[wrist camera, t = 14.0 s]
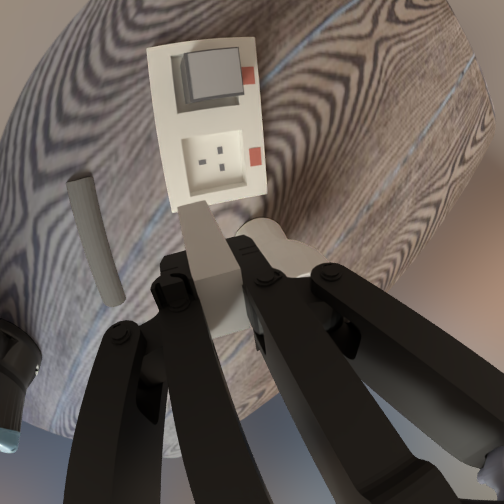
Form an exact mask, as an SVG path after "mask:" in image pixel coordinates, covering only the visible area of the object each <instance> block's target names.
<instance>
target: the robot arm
mask: <svg viewBox="0 0 504 504" xmlns="http://www.w3.org/2000/svg"><path fill="white" fill-rule="evenodd" d="M177 209H178V215H179V220H180V225H181V230H182V235H183V239H184V244H185V249H186V250H185V251H182V252H178V253H174V254H170V255H167V256H164V257H163V259H162V261H161V263H160V272H161V273H160V274H161V276H160V277H158V278H157V279H156V280H155V281H154V282H153V283H152V285H151V289H150V290H151V292H152V295H153V297H154V299H155V302H156V304H157V306H158V309H159V312H158V314H157V315H156V316H155V317H154V318H152V319H151V320H149V321H147V322H146V323H144V324H142V325H140V326H138V324H137V323H135V322H133V321H129V320H125V321H120V322H117V323H115V324H114V325H112V326H111V327H110V328H109V329H108V330H107V331H106V332H105V334H104V336H103V338H102V341H101V344H100V347H99V350H98V352H97V355H96V358H95V361H94V364H93V367H92V371H91V374H90V377H89V380H88V383H87V387H86V390H85V394H84V397H83V401H82V405H81V408H80V412H79V416H78V420H77V424H76V429H75V433H74V438H73V442H72V447H71V453H70V458H69V464H68V469H67V476H66V483H65V491H64V500H63V504H160V491H161V466H162V465H161V464H162V449H163V435H164V423H165V412H166V403H167V393H168V389H169V395H170V401H171V406H172V412H173V417H174V422H175V427H176V432H177V436H178V441H179V445H180V449H181V454H182V458H183V462H184V466H185V469H186V473H187V477H188V480H189V484H190V488H191V491H192V494H193V498H194V501H195V504H273V501H272V499H271V497H270V495H269V492H268V490H267V488H266V486H265V484H264V481H263V479H262V476H261V474H260V471H259V469H258V467H257V464H256V462H255V459H254V457H253V454H252V452H251V449H250V447H249V444H248V442H247V439H246V436H245V434H244V431H243V428H242V426H241V423H240V420H239V418H238V415H237V412H236V409H235V406H234V404H233V401H232V398H231V395H230V392H229V389H228V386H227V383H226V380H225V377H224V374H223V371H222V368H221V365H220V362H219V359H218V355H217V352H216V349H215V346H214V343H213V340H212V339H214V338H218V337H221V336H225V335H228V334H232V333H235V332H238V331H242V330H245V329H248V328H250V323H251V325H252V327H253V331H254V337H255V343H256V349H257V351H258V350H260V351H261V353H262V355H263V358H264V360H265V362H266V364H267V366H268V368H269V370H270V373H271V375H272V377H273V379H274V381H275V383H276V385H277V387H278V390H279V392H280V394H281V396H282V398H283V400H284V402H285V404H286V406H287V408H288V410H289V412H290V414H291V416H292V418H293V420H294V422H295V424H296V426H297V428H298V430H299V432H300V434H301V436H302V438H303V440H304V442H305V444H306V446H307V448H308V450H309V452H310V454H311V456H312V458H313V460H314V462H315V464H316V466H317V468H318V469H319V471H320V473H321V475H322V477H323V479H324V481H325V483H326V485H327V487H328V488H329V490H330V492H331V494H332V496H333V498H334V500H335V502H336V504H504V373H502V372H501V371H499V370H498V369H497V368H495V367H494V366H493V365H491V364H490V363H489V362H487V361H486V360H484V359H483V358H482V357H480V356H479V355H478V354H476V353H475V352H473V351H472V350H471V349H469V348H468V347H466V346H465V345H463V344H462V343H461V342H459V341H458V340H456V339H455V338H454V337H452V336H451V335H449V334H448V333H446V332H445V331H443V330H442V329H441V328H439V327H438V326H436V325H435V324H433V323H432V322H430V321H429V320H427V319H425V318H424V317H423V316H421V315H420V314H418V313H417V312H415V311H414V310H412V309H411V308H409V307H407V306H406V305H405V304H403V303H402V302H400V301H398V300H397V299H395V298H394V297H392V296H391V295H389V294H388V293H386V292H384V291H383V290H381V289H380V288H378V287H377V286H375V285H373V284H372V283H370V282H369V281H367V280H366V279H364V278H362V277H361V276H359V275H358V274H356V273H354V272H353V271H351V270H349V269H348V268H346V267H345V266H342V265H340V264H338V263H331V262H330V263H322V264H319V265H317V266H315V267H314V268H313V269H312V271H311V273H310V277H299V278H291V277H287V276H286V275H285V274H284V273H283V272H282V271H281V270H278V269H275V268H272V267H271V265H270V264H269V262H268V261H267V259H266V258H265V257H264V255H263V254H262V252H261V251H260V249H259V248H258V247H257V246H256V244H255V242H254V241H253V239H252V238H250V237H248V236H246V235H244V234H243V235H239V236H235V237H231V238H228V239H225V238H224V236H223V234H222V232H221V230H220V228H219V226H218V224H217V222H216V220H215V218H214V216H213V214H212V212H211V210H210V208H209V206H208V204H207V202H206V200H203V201H198V202H194V203H190V204H186V205H182V206H179V207H177ZM249 321H250V322H249ZM41 360H42V358H41V354H40V351H39V349H38V347H37V346H36V344H35V343H34V342H33V341H32V339H31V338H30V337H29V336H28V335H27V334H26V333H24V332H23V331H22V330H21V329H19V328H18V327H16V326H15V325H13V324H11V323H9V322H7V321H5V320H2V319H0V451H1V452H6V453H13V452H15V451H16V450H17V449H18V443H19V437H20V435H21V433H20V429H21V421H22V413H23V407H24V401H25V395H26V390H27V388H28V387H29V385H30V384H31V382H32V381H33V379H34V378H35V376H36V375H37V373H38V372H39V369H40V365H41ZM361 380H362V381H363V382H364V383H366V384H367V385H368V386H369V387H370V388H371V389H372V390H373V391H375V392H376V393H377V394H378V395H379V396H380V397H382V398H383V399H384V400H385V401H386V402H388V403H389V404H390V405H391V406H392V407H393V408H395V409H396V410H397V411H398V412H399V413H401V414H402V415H403V416H404V417H405V418H407V419H408V420H409V421H410V422H411V423H413V424H414V425H415V426H416V427H417V428H419V429H420V430H421V431H422V432H423V433H425V434H426V435H427V436H428V437H430V438H431V439H432V440H433V441H434V442H436V443H437V444H438V445H439V446H441V447H442V448H443V449H444V450H446V451H447V452H448V453H449V454H451V455H452V456H454V457H455V458H457V459H458V460H459V461H461V462H463V463H465V464H467V465H470V466H472V467H476V468H479V469H480V471H479V472H478V475H477V480H478V482H479V483H480V484H485V483H486V485H487V486H489V487H491V488H492V489H494V490H495V492H496V493H497V501H490V500H489V501H488V500H471V499H460V498H458V497H457V496H456V494H455V493H454V491H453V490H452V488H451V487H450V485H449V484H448V482H447V481H446V479H445V478H444V476H443V475H442V473H441V472H440V471H439V470H438V468H437V467H436V466H435V465H433V464H432V463H430V462H429V461H425V460H421V459H418V458H417V457H415V456H414V455H413V454H412V453H411V452H410V450H409V449H408V448H407V446H406V445H405V443H404V441H403V440H402V438H401V437H400V435H399V434H398V433H397V431H396V430H395V428H394V427H393V425H392V424H391V422H390V421H389V420H388V418H387V417H386V415H385V414H384V412H383V411H382V409H381V408H380V407H379V405H378V404H377V402H376V401H375V399H374V398H373V396H372V395H371V394H370V392H369V391H368V389H367V388H366V386H365V385H364V384H363V382H362V381H361Z"/></svg>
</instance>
